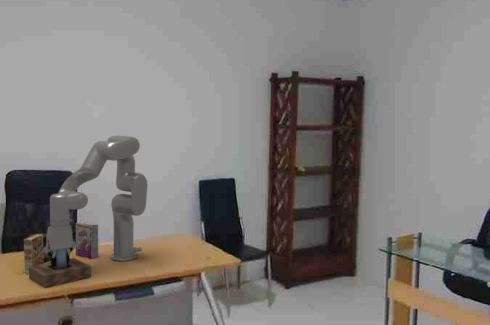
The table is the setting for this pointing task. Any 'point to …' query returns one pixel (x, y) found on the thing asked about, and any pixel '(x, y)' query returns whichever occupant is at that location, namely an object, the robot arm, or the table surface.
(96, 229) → the candy bar box
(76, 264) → the peg block
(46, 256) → the supplement container
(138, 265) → the table surface
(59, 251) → the peg
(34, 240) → the candy box
